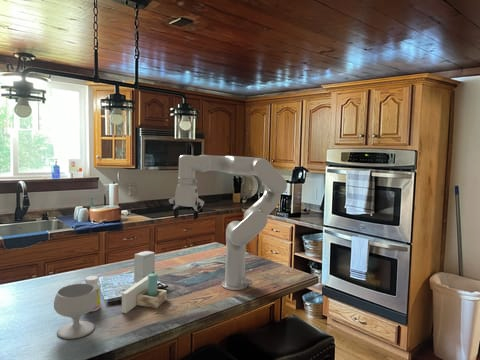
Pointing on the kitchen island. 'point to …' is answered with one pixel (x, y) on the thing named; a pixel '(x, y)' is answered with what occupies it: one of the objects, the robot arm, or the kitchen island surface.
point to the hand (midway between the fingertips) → (185, 218)
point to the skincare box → (144, 265)
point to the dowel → (152, 285)
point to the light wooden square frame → (151, 298)
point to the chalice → (75, 309)
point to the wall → (133, 294)
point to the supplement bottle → (93, 281)
